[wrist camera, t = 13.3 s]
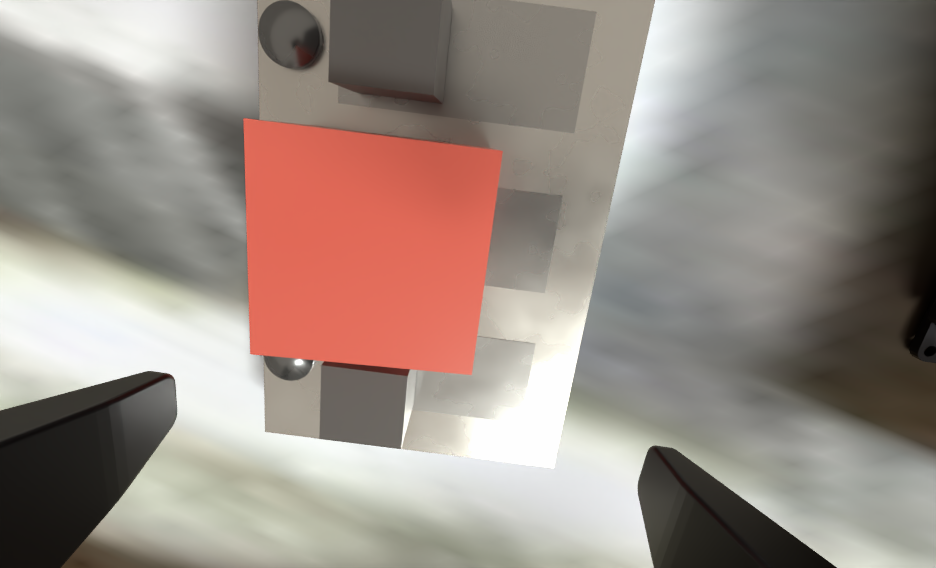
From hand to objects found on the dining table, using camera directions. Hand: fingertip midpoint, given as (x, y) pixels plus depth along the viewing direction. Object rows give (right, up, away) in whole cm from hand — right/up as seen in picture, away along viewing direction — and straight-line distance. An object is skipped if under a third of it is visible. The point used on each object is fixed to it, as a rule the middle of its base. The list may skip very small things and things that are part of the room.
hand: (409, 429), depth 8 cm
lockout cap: (-2, +5, +8) cm, 10 cm away
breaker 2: (-2, -1, +10) cm, 11 cm away
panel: (0, +5, +11) cm, 12 cm away
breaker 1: (-1, +11, +7) cm, 13 cm away
